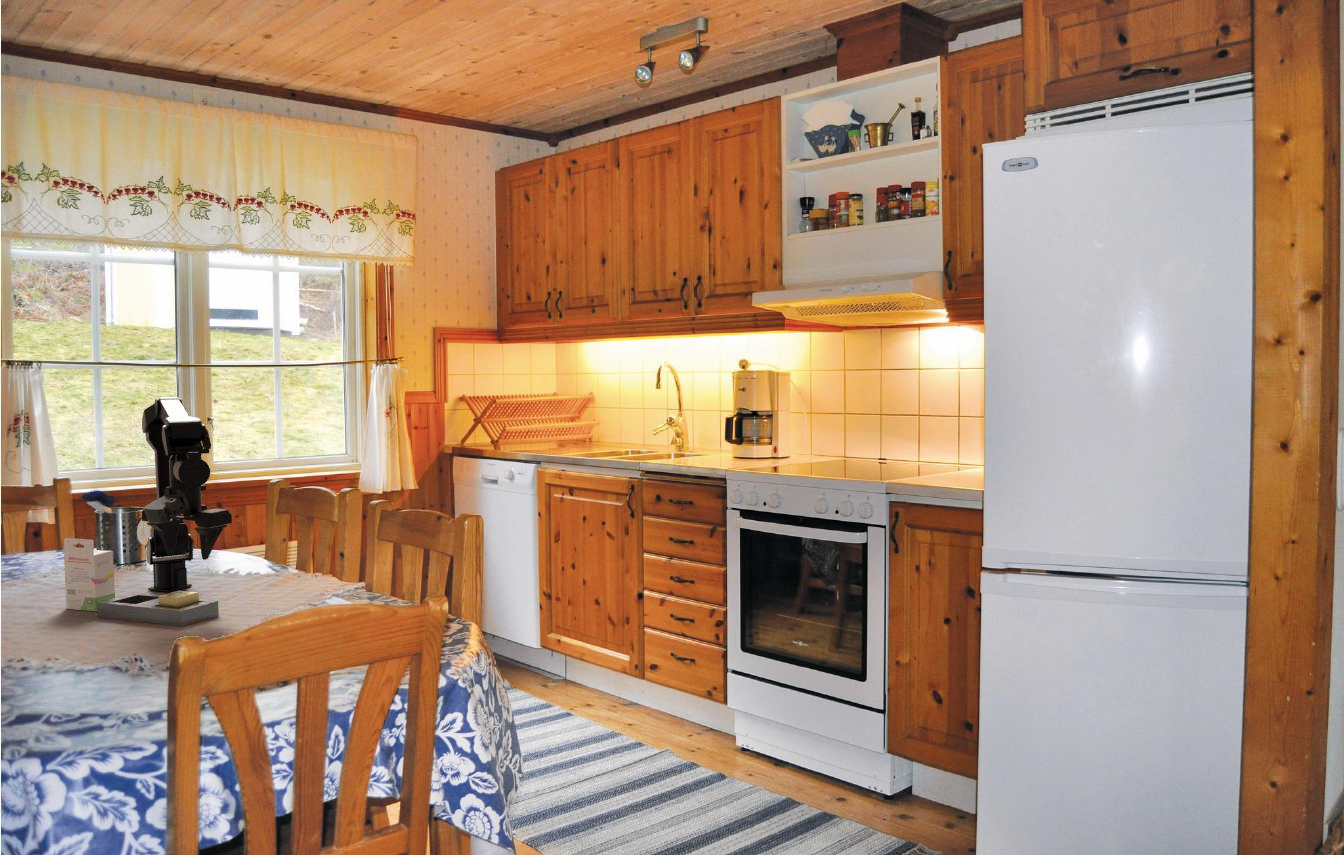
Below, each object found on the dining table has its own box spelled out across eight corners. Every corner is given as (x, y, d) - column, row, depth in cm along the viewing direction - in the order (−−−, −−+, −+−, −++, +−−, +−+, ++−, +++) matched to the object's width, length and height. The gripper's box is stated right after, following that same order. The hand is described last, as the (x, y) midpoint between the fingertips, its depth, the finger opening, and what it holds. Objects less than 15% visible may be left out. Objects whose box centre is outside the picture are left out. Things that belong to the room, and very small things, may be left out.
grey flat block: (97, 617, 200) (97, 602, 200) (136, 607, 208) (135, 592, 208) (182, 626, 192) (181, 611, 192) (218, 615, 200) (218, 600, 200)
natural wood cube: (159, 621, 197) (158, 595, 197) (180, 615, 202) (179, 590, 201) (178, 623, 195) (177, 597, 195) (199, 617, 200) (198, 592, 199)
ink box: (117, 606, 209) (114, 536, 208) (96, 612, 204) (93, 539, 203) (85, 603, 212) (82, 533, 211) (64, 609, 207) (61, 537, 206)
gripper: (116, 483, 199) (119, 561, 201) (187, 489, 193) (190, 569, 194) (163, 476, 210) (166, 550, 211) (232, 482, 203) (235, 558, 204)
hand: (187, 557), depth 205 cm, fingers open, 9 cm apart
